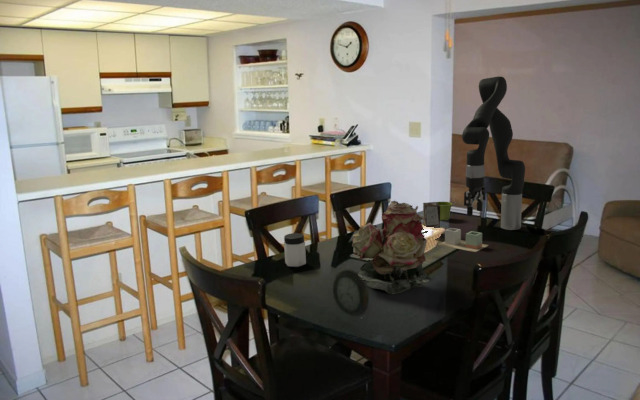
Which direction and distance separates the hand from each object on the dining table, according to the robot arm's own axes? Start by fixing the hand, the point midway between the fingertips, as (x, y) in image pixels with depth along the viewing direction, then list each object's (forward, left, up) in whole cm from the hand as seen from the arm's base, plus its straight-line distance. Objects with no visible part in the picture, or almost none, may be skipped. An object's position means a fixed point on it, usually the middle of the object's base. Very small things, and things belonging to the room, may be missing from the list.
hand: (474, 213), depth 221 cm
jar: (+59, -49, -16) cm, 79 cm away
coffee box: (-5, -24, -16) cm, 30 cm away
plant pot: (-37, -37, -16) cm, 55 cm away
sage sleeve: (0, 0, -15) cm, 15 cm away
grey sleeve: (0, -10, -15) cm, 18 cm away
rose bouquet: (+50, -5, -16) cm, 53 cm away
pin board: (0, -5, -16) cm, 17 cm away
